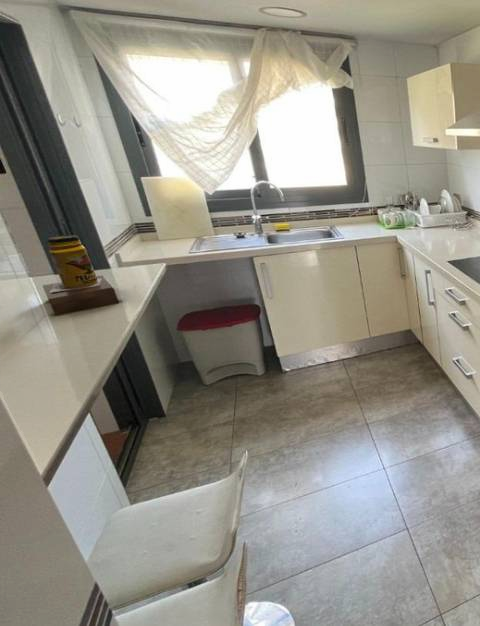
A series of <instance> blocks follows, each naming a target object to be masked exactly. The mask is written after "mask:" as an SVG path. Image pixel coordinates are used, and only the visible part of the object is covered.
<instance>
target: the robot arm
mask: <svg viewBox="0 0 480 626" xmlns="http://www.w3.org/2000/svg"><path fill="white" fill-rule="evenodd" d="M5 174H7V170H6V168H5V164H4V163H3V161H2V158H1V157H0V175H5Z"/></svg>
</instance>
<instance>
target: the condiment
mask: <svg viewBox="0 0 480 626" xmlns="http://www.w3.org/2000/svg"><path fill="white" fill-rule="evenodd" d="M46 242H47V243H48V247H49V255H50V257H51V259H52V262H53V264H54V267H55V270H56V271H57V275H58V276H59V279H60V282H62V283H63V284H57V285H54V287H53V289H52V290H51V292H50V293H52V292H59V291H65V290H73V289H81V288H88V287H95V286H98V285H99V284H100V282H101V279H97V277H96V276H97V275H96V272H95V269H94V267H93V265H92V262H91V259H90V257H89V255H88V251H87V248H86V247H85V246H83V244H82V242H81V240H80V237H79V236H78V235H76V234H67V235H58V236H52V237H48V238H47V240H46Z"/></svg>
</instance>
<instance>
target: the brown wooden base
mask: <svg viewBox="0 0 480 626" xmlns="http://www.w3.org/2000/svg"><path fill="white" fill-rule="evenodd" d="M96 277H97V279H101V282H100V284H99V285H98V286H95V287H88V288H81V289H73V290H65V291H59V292H52V293H50V292H51V290H52V289H53V287H54V285H57V284H63V283H62V281H60V282H55V283H48V284H43V285H42V288H43V291H44V293H45V295H46V298H47V300H48V304H49V305H50V307H51V309H52V311H53V314H54V316H55V317H56V316H61V315H65V314H71V313H75V312H80V311H85V310H90V309H95V308H100V307H105V306H110V305H114V304H119V303H120V301H119V299H118V295H117V294H116V291H115V288H114V287H113V285H112V284H111V283H110V282H109V281H108V279H107V278H105V276H103V275H96Z"/></svg>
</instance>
